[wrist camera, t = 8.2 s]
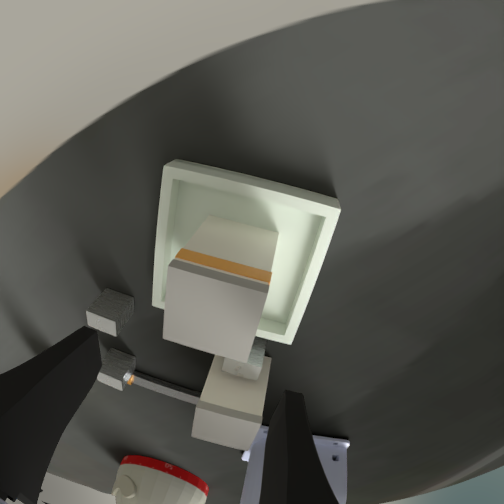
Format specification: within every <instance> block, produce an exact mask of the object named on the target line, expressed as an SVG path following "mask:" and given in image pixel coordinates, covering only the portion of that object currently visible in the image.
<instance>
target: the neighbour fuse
mask: <svg viewBox="0 0 504 504" xmlns="http://www.w3.org/2000/svg"><path fill="white" fill-rule="evenodd" d="M224 358H225V357H222V356H219V355H215V357H214V359H213V362H212V365H211V368H210V371H209V374H208V377H207V380H206V382H205V385H204V388H203V391H202V394H201V397H200V400H198V403H197V406H196V410H195V416H194V422H193V429H192V435H191V436H192V437H195V438H198V439H202V440H205V441H209V442H213V443H216V444H220V445H224V446H228V447H232V448H236V449H240V450H245V451H248V450H249V448H250V446H251V444H252V442H253V440H254V438H255V436H256V434H257V432H258V430H259V428H260V426H261V424H262V419H263V416H262V413H263V407H264V401H265V395H266V390H267V383H268V377H269V371H270V365H271V359H272V358H270V357H266V356H264V359H263V364H262V368H261V371H260V374H259V377H258V379H257V381H256V380H252V379H248V378H244V377H240V376H236V375H233V374H229V373H225V372H222V367H223V363H224Z"/></svg>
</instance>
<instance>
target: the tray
mask: <svg viewBox="0 0 504 504" xmlns="http://www.w3.org/2000/svg"><path fill="white" fill-rule="evenodd" d="M340 211H341V208H340V204H339V201H338V199H337V198H333V197H330V196H326V195H323V194H319V193H316V192H312V191H309V190H305V189H301V188H298V187H294V186H290V185H287V184H283V183H279V182H275V181H271V180H267V179H263V178H259V177H255V176H251V175H247V174H243V173H239V172H235V171H230V170H226V169H222V168H217V167H213V166H208V165H204V164H199V163H194V162H190V161H185V160H180V159H175V160H173V161H171V162H169V163H167V164H165V165H164V167H163V175H162V183H161V192H160V201H159V211H158V221H157V233H156V245H155V259H154V275H153V295H152V306H155V307H158V308H161V309H164V308H165V294H166V281H167V269H168V265H169V264H170V262H171V261H172V260H173V259H175V256H176V254H177V253H178V252H179V251H180V249H181V248H184V247H185V245H186V244H187V243H188V241H189V240H190V239H191V237H192V236H193V235H194V234H195V232H196V231H197V230H198V228H199V227H200V226H201V225H202V223H203V222H204V221H205V219H206V218H207V217H208V216H209V215H213V216H217V217H220V218H224V219H228V220H232V221H236V222H240V223H244V224H248V225H251V226H255V227H259V228H263V229H267V230H271V231H274V232H278V233H279V235H278V240H277V245H276V250H275V255H274V260H273V265H272V270H271V272H272V276H271V281H270V286H269V291H268V295H267V298H266V302H265V305H264V308H263V312H262V315H261V318H260V322H259V325H258V328H257V331H256V335H255V336H258V337H261V338H265V339H269V340H273V341H277V342H281V343H286V344H290V345H291V344H292V341H293V339H294V336H295V334H296V331H297V329H298V326H299V324H300V321H301V319H302V316H303V314H304V311H305V308H306V306H307V303H308V301H309V298H310V295H311V293H312V290H313V288H314V285H315V282H316V280H317V277H318V274H319V271H320V269H321V266H322V263H323V260H324V258H325V255H326V252H327V249H328V246H329V243H330V241H331V238H332V235H333V232H334V229H335V226H336V223H337V220H338V217H339V214H340Z"/></svg>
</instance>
